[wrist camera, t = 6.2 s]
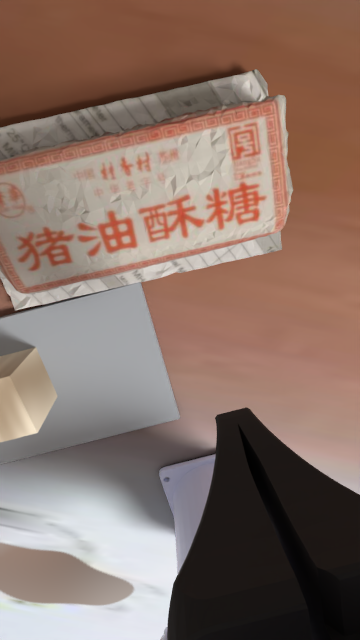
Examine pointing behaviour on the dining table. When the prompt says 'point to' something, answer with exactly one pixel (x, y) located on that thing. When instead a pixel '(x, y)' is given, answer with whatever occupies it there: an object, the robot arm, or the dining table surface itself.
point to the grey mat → (92, 369)
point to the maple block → (23, 394)
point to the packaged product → (142, 189)
